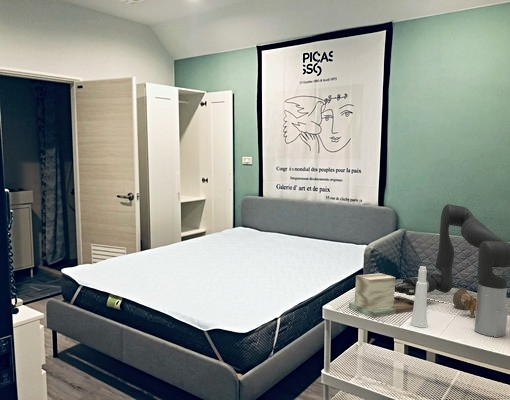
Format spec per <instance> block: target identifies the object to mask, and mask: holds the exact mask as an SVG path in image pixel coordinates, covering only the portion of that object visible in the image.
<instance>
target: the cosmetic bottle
mask: <svg viewBox="0 0 510 400" xmlns="http://www.w3.org/2000/svg"><path fill="white" fill-rule="evenodd" d="M427 273H428V271H427V266H423V265H421V266H419V268H418V276H417V277H418V281H417V284H416V291H415V295H414V299H413V301H414V307H413V311H412V314H411V319H410V323H409V324H410V325H411V326H413V327H415V328H422V329H423V328H427V327H428V318H427V317H428V316H427V315H428V312H427V310H428V309H427V307H428V306H427V304H428V299H427V298H428V293H427V283H426V276H427Z"/></svg>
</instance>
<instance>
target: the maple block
mask: <svg viewBox="0 0 510 400" xmlns="http://www.w3.org/2000/svg"><path fill="white" fill-rule="evenodd" d="M396 278H397V277H395V276H392V275H389V274H385V273H380V272H379V273H370V274H369V273H368V274H358V275H355V290H354V302H355V303H354V305H357V306H359V307H362V308H365V309H367V310H373V309H379V308H386V307H393V306H394V297H395V293H396V292H395V283H396Z"/></svg>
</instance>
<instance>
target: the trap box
mask: <svg viewBox="0 0 510 400" xmlns="http://www.w3.org/2000/svg"><path fill="white" fill-rule="evenodd" d="M354 303H355V301H352V302H351V301H350V302H348V308H350V309H351V310H354V311H357V312H359V313H361V314H364V315H367V316H369V317H372V318H378V317H380V318H381V317H385V316H393V315H398V314H399V315H400V314H404V313H410V312H413V307H414V299H410V298H407V297H405V296H401V295H394V306H393V307H386V308H379V309H373V310H367V309H365V308H362V307H359V306H357V305H354Z"/></svg>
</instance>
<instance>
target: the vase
mask: <svg viewBox="0 0 510 400" xmlns="http://www.w3.org/2000/svg"><path fill="white" fill-rule="evenodd" d="M463 294H469V292H468V291H467V289H466V288H465V287H459V288H458V290H456V291H455V292H454V294H453V296H452V303H453V305H454V307H455V308H456V309H458V310H468V309H467V308H466V307H465V306H464V305H463V304H462V302H461V298H462V295H463Z"/></svg>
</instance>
